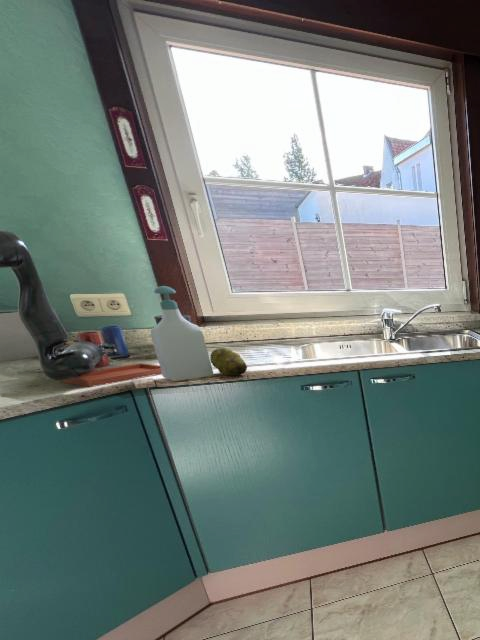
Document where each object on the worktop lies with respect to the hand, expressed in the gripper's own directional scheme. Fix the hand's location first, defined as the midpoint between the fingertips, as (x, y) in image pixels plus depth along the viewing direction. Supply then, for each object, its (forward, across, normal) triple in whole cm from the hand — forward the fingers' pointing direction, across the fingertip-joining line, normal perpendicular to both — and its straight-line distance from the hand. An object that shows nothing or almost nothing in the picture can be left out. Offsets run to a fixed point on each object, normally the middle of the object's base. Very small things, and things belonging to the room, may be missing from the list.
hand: (94, 346), depth 165 cm
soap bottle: (-32, -25, +6) cm, 42 cm away
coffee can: (+11, -21, +6) cm, 25 cm away
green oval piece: (-34, -37, +6) cm, 50 cm away
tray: (-24, -8, +6) cm, 26 cm away
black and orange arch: (+15, +10, +6) cm, 19 cm away
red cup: (-3, 0, +6) cm, 7 cm away
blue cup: (+11, -3, +6) cm, 13 cm away
